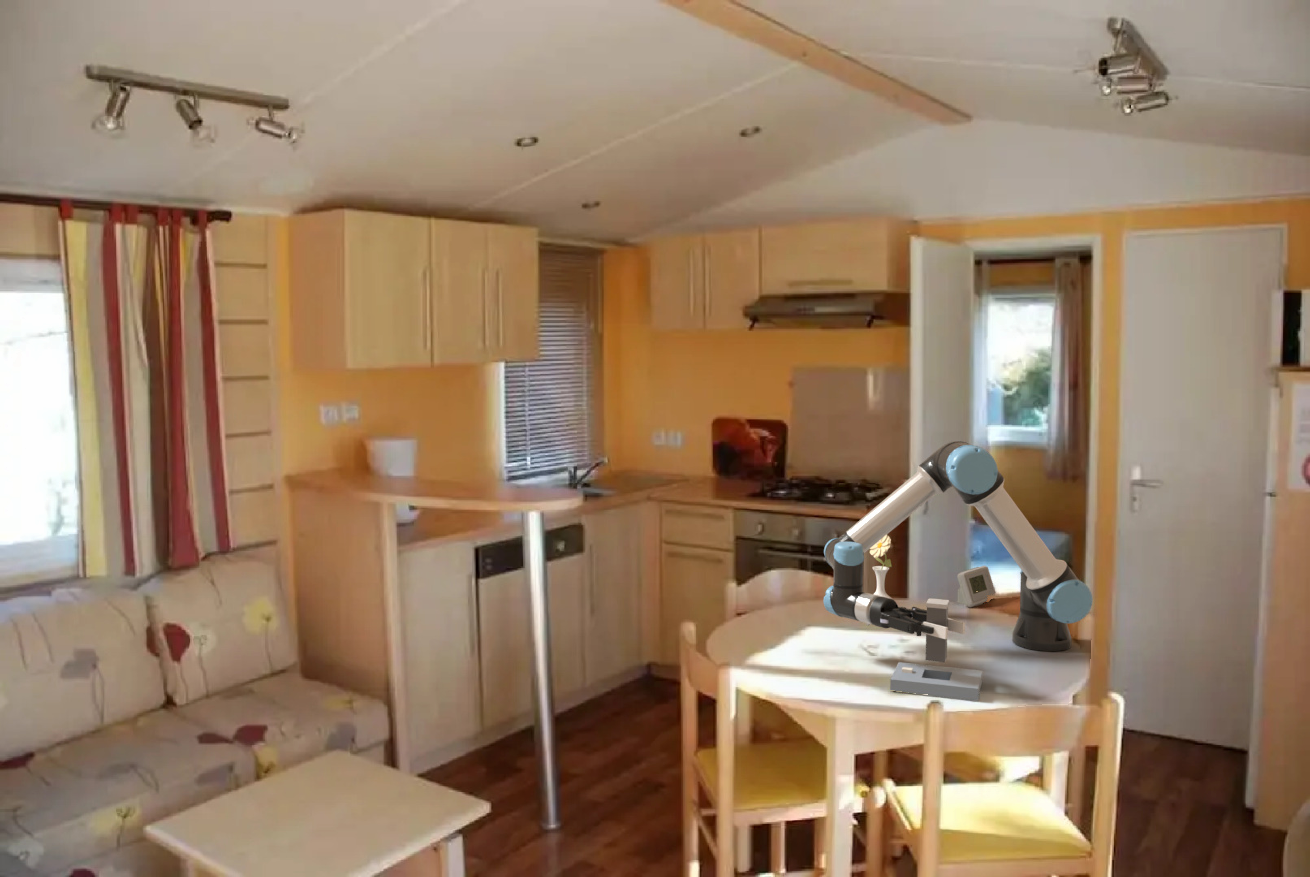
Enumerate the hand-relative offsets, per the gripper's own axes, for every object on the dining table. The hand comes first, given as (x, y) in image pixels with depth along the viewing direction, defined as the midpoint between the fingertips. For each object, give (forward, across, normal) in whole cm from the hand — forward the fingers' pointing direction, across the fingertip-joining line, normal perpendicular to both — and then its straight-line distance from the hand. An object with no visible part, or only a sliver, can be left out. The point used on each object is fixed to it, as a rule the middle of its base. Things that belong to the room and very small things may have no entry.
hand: (955, 630), depth 252 cm
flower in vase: (-56, -43, -15) cm, 73 cm away
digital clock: (-45, -76, -15) cm, 89 cm away
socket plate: (-5, 0, -15) cm, 16 cm away
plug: (-5, 0, -8) cm, 9 cm away
